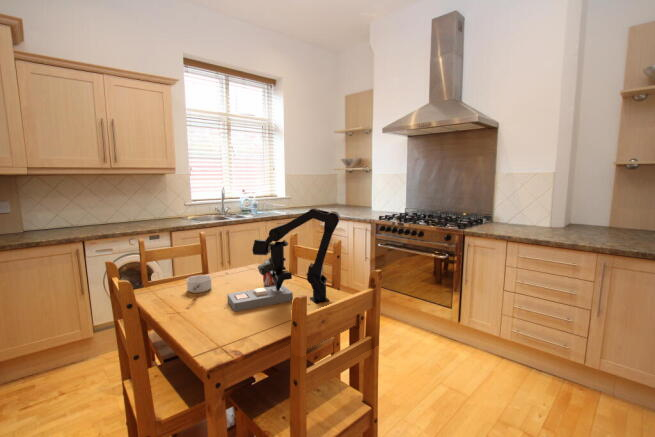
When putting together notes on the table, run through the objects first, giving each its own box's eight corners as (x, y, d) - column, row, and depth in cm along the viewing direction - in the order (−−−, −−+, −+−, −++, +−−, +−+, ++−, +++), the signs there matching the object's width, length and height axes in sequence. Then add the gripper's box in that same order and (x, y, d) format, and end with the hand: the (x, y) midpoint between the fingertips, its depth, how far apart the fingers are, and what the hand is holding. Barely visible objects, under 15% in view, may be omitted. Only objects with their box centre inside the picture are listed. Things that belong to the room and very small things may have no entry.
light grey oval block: (180, 302, 138) (179, 289, 138) (188, 286, 158) (188, 275, 157) (209, 299, 141) (208, 287, 140) (213, 285, 160) (213, 274, 160)
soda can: (269, 287, 156) (269, 263, 155) (260, 284, 161) (259, 261, 159) (280, 283, 162) (280, 260, 160) (270, 281, 166) (270, 258, 165)
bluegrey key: (284, 295, 142) (284, 290, 142) (274, 297, 140) (274, 292, 140) (280, 292, 146) (280, 287, 146) (271, 294, 144) (271, 289, 144)
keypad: (292, 300, 140) (292, 292, 140) (234, 311, 128) (234, 303, 128) (282, 291, 151) (282, 284, 150) (227, 301, 139) (227, 293, 138)
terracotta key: (248, 302, 135) (248, 297, 134) (237, 304, 133) (237, 299, 132) (245, 299, 138) (245, 293, 138) (235, 301, 136) (235, 295, 136)
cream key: (266, 296, 138) (266, 290, 138) (256, 297, 136) (256, 292, 136) (263, 292, 142) (263, 287, 142) (253, 294, 140) (253, 289, 140)
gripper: (253, 253, 145) (254, 286, 147) (266, 262, 129) (267, 300, 131) (276, 250, 150) (277, 283, 152) (292, 259, 134) (292, 295, 136)
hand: (278, 290), depth 143 cm, fingers closed, pressing on bluegrey key
